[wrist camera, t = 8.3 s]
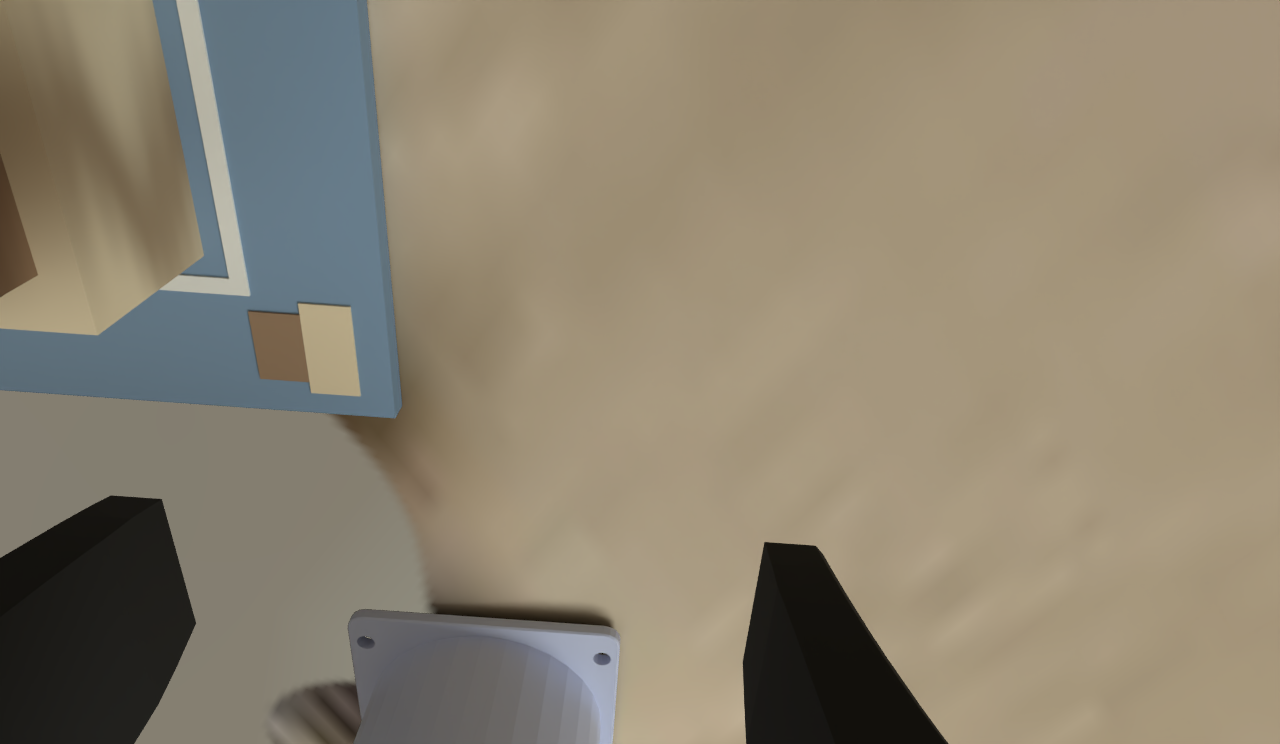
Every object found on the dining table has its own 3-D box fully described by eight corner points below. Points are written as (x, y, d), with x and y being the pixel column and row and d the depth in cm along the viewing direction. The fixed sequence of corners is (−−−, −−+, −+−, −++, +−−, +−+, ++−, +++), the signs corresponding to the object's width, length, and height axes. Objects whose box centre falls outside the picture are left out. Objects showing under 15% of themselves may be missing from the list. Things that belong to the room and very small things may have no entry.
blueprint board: (401, 405, 21) (394, 419, 21) (-148, 366, 21) (-171, 379, 21) (342, -282, 14) (328, -290, 14) (-470, -344, 14) (-518, -355, 14)
